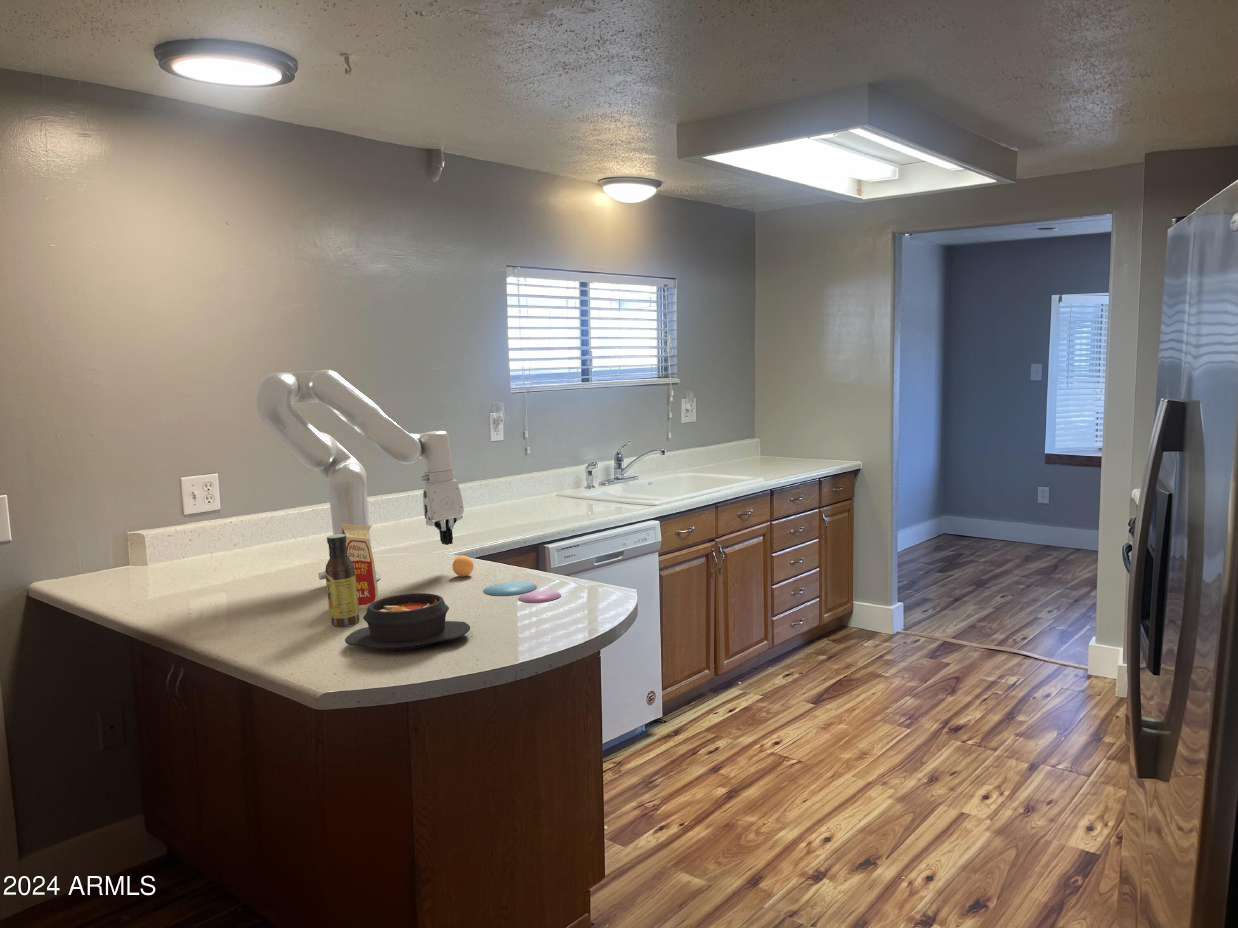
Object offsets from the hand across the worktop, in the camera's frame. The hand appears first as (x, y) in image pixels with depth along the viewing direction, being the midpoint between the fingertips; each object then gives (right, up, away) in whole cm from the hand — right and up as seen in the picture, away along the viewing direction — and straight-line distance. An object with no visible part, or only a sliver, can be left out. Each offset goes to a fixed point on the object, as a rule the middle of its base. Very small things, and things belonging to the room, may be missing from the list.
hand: (447, 543), depth 250 cm
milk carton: (-15, -12, -29) cm, 35 cm away
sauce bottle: (-14, -14, -46) cm, 50 cm away
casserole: (+4, -15, -63) cm, 65 cm away
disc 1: (+20, -9, -23) cm, 32 cm away
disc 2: (+28, -10, -33) cm, 44 cm away
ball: (+5, -5, -7) cm, 10 cm away
